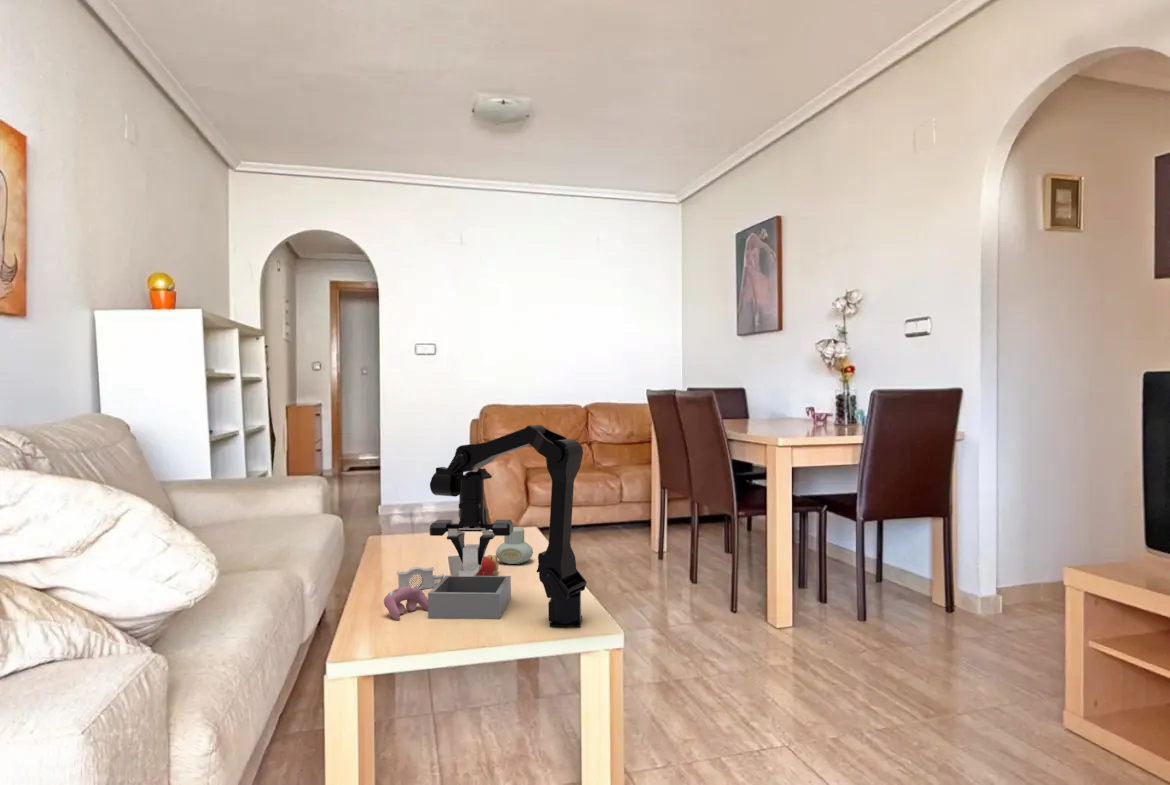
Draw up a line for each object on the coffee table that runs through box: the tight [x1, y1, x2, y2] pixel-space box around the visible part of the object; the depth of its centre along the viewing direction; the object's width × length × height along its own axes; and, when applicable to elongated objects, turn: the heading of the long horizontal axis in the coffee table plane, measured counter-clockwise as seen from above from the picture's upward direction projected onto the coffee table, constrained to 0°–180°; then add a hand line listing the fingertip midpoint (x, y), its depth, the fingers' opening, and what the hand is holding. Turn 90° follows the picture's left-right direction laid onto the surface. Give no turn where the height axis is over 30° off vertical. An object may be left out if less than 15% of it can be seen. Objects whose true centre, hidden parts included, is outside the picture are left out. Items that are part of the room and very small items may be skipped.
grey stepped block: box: [458, 543, 482, 577], centre depth 156 cm, size 4×8×6 cm, turn 177°
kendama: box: [475, 554, 499, 576], centre depth 189 cm, size 8×6×18 cm
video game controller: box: [383, 585, 428, 621], centre depth 154 cm, size 10×5×7 cm, turn 141°
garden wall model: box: [396, 566, 445, 590], centre depth 173 cm, size 12×2×6 cm, turn 121°
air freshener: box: [495, 526, 534, 565], centre depth 200 cm, size 11×8×10 cm
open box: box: [427, 575, 512, 620], centre depth 157 cm, size 16×15×6 cm
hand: (472, 564), depth 158 cm, fingers closed on grey stepped block, 3 cm apart
